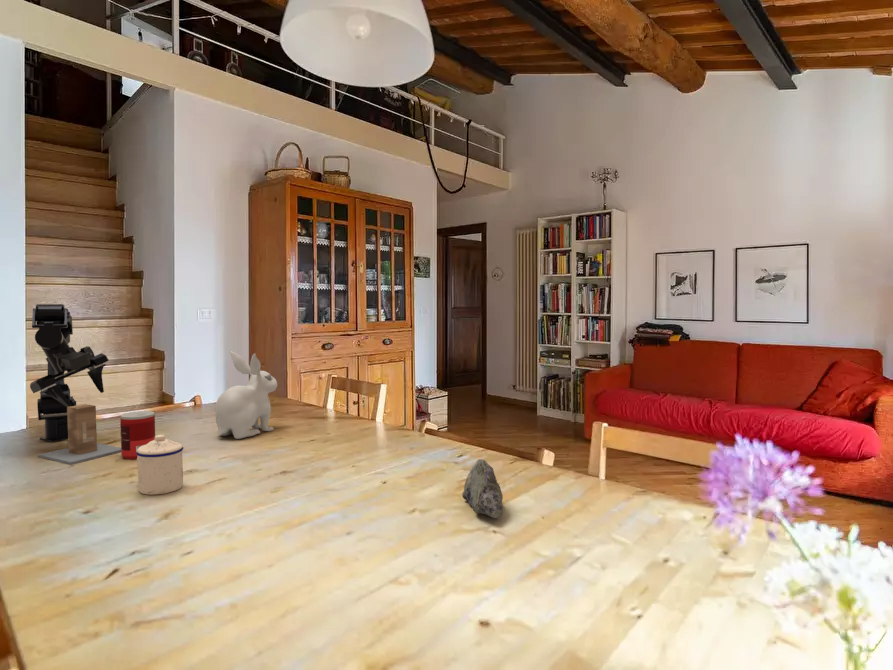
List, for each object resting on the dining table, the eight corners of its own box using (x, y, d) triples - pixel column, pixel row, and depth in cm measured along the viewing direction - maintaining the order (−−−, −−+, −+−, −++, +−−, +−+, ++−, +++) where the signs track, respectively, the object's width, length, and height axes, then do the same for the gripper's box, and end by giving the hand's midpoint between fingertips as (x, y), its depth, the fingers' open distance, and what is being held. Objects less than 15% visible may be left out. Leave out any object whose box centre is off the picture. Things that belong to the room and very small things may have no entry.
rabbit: (288, 429, 177) (287, 350, 176) (231, 443, 160) (230, 355, 158) (263, 424, 184) (262, 348, 182) (206, 437, 166) (205, 353, 164)
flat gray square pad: (38, 456, 145) (38, 454, 145) (93, 444, 157) (93, 442, 157) (70, 464, 139) (70, 462, 139) (125, 450, 151) (125, 448, 151)
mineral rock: (497, 527, 103) (498, 474, 103) (443, 518, 108) (443, 466, 107) (516, 504, 115) (517, 456, 115) (467, 496, 119) (467, 450, 119)
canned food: (161, 451, 151) (160, 411, 150) (142, 460, 143) (141, 417, 142) (134, 450, 152) (133, 410, 151) (114, 459, 144) (113, 416, 143)
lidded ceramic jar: (193, 485, 124) (192, 433, 124) (155, 498, 116) (154, 443, 116) (158, 477, 130) (156, 427, 129) (119, 488, 122) (117, 435, 121)
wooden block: (68, 452, 147) (67, 406, 146) (86, 448, 151) (85, 404, 150) (79, 455, 145) (78, 408, 144) (97, 450, 149) (96, 405, 148)
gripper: (32, 355, 140) (65, 410, 143) (103, 329, 156) (131, 379, 158) (15, 365, 146) (47, 418, 149) (85, 339, 162) (112, 387, 165)
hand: (86, 399), depth 155 cm, fingers open, 9 cm apart
